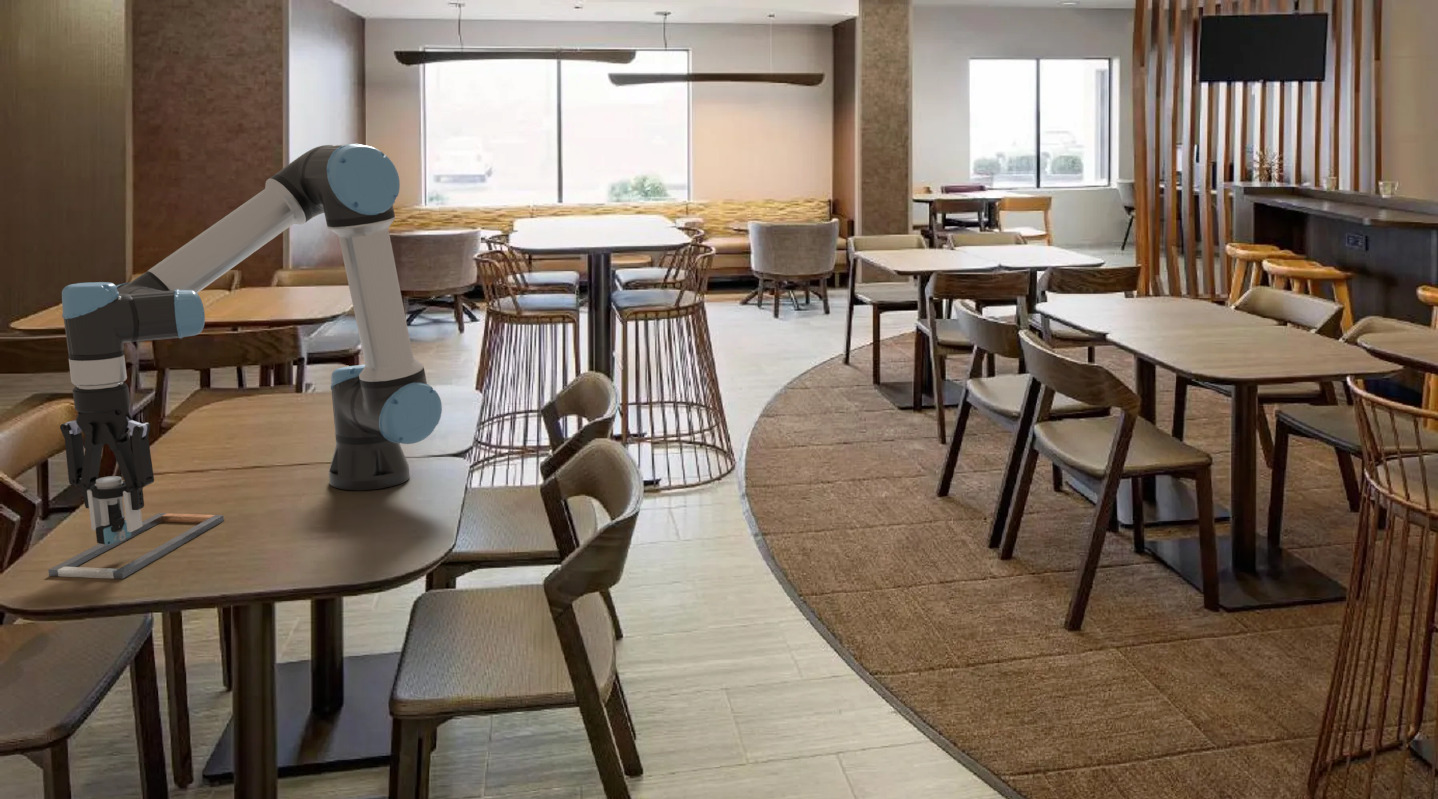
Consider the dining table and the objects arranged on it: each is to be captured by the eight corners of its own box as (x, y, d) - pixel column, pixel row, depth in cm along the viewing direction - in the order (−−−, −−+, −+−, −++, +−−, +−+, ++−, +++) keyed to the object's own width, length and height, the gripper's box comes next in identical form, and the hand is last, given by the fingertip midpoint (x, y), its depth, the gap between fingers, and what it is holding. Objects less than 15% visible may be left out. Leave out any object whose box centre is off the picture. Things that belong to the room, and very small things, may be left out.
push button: (122, 530, 181) (116, 470, 178) (148, 534, 179) (142, 474, 177) (88, 543, 174) (81, 482, 172) (114, 547, 173) (108, 485, 171)
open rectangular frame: (223, 520, 195) (223, 515, 195) (122, 578, 168) (122, 572, 168) (159, 518, 197) (159, 513, 197) (49, 575, 170) (48, 569, 169)
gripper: (170, 380, 174) (185, 522, 179) (61, 378, 176) (79, 518, 181) (140, 390, 167) (157, 538, 171) (27, 387, 169) (47, 533, 174)
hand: (117, 528), depth 176 cm, fingers closed on push button, 5 cm apart
